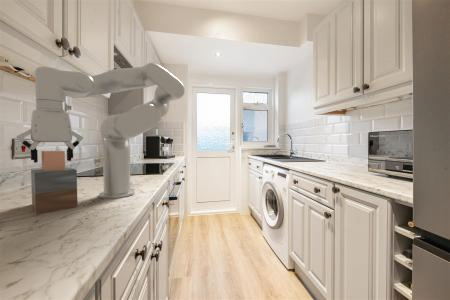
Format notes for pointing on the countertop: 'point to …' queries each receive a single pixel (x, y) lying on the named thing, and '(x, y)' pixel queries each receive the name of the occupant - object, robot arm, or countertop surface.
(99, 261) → the countertop surface
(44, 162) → the terracotta brick
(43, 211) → the shiny metal block
